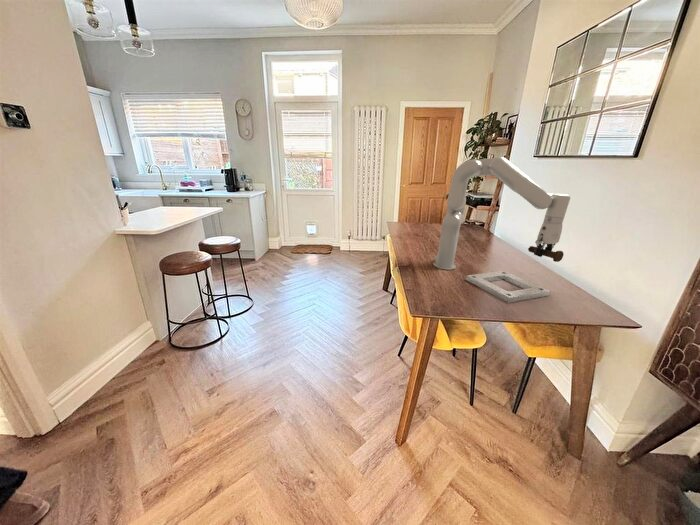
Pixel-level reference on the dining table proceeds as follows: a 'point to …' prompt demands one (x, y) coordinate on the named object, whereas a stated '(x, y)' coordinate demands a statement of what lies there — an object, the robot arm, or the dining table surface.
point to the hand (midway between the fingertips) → (542, 255)
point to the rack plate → (511, 296)
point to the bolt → (548, 253)
